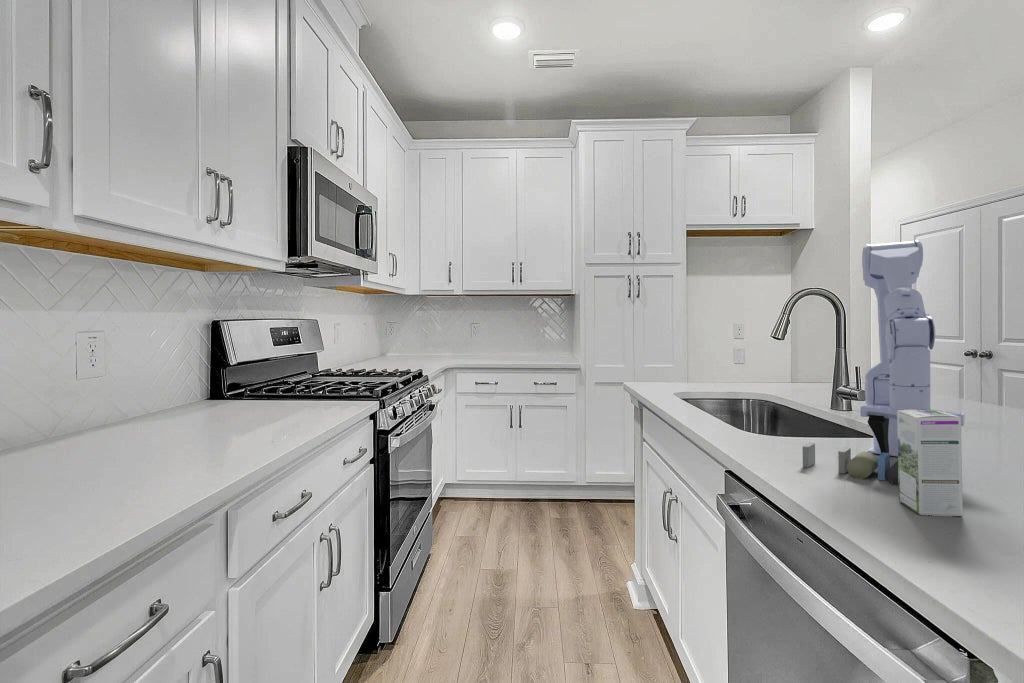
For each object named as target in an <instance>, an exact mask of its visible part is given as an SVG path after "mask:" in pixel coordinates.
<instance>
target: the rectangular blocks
mask: <svg viewBox="0 0 1024 683" xmlns="http://www.w3.org/2000/svg"><path fill="white" fill-rule="evenodd" d="M851 453H852V451H851V447H846V446H844V447H842V448H841V449H840V450H838V456H837V457H838V458H837V459H838V460H837V461H838V473H839V474H843V475H844V474H847V473H849V472H848V469H847V464H848V462H849V461H850V460H851V459H852V457H851V456H852V454H851ZM877 458H878V468H877V480H880V481H886V480H888V478H887V471H888V469H889V468H890V467H891V465H890V464H891V457H890V453H884V452H883V453H882V454H878V456H877ZM815 464H816V443H815V442H808V443H806V444H804V445H803V446H802V467H803V468H808V469H809V468H811V467H812V466H813V465H815Z"/></svg>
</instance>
